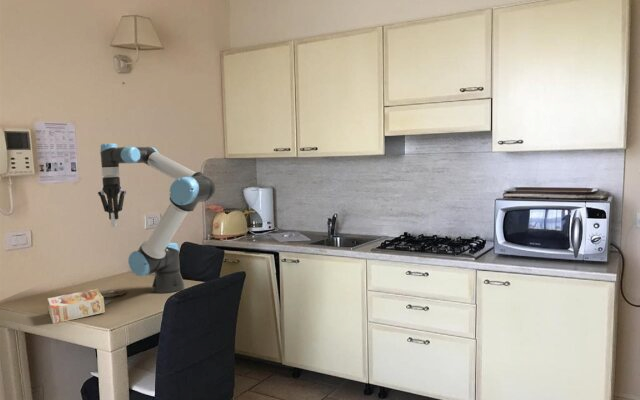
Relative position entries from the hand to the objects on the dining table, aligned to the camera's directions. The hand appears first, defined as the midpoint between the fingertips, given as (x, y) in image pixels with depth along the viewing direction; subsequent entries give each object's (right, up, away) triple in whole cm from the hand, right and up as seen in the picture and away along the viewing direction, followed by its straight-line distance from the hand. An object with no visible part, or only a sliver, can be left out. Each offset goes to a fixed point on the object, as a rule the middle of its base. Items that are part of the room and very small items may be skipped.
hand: (114, 226), depth 244 cm
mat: (-7, -34, -19) cm, 40 cm away
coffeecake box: (+5, -30, -25) cm, 40 cm away
